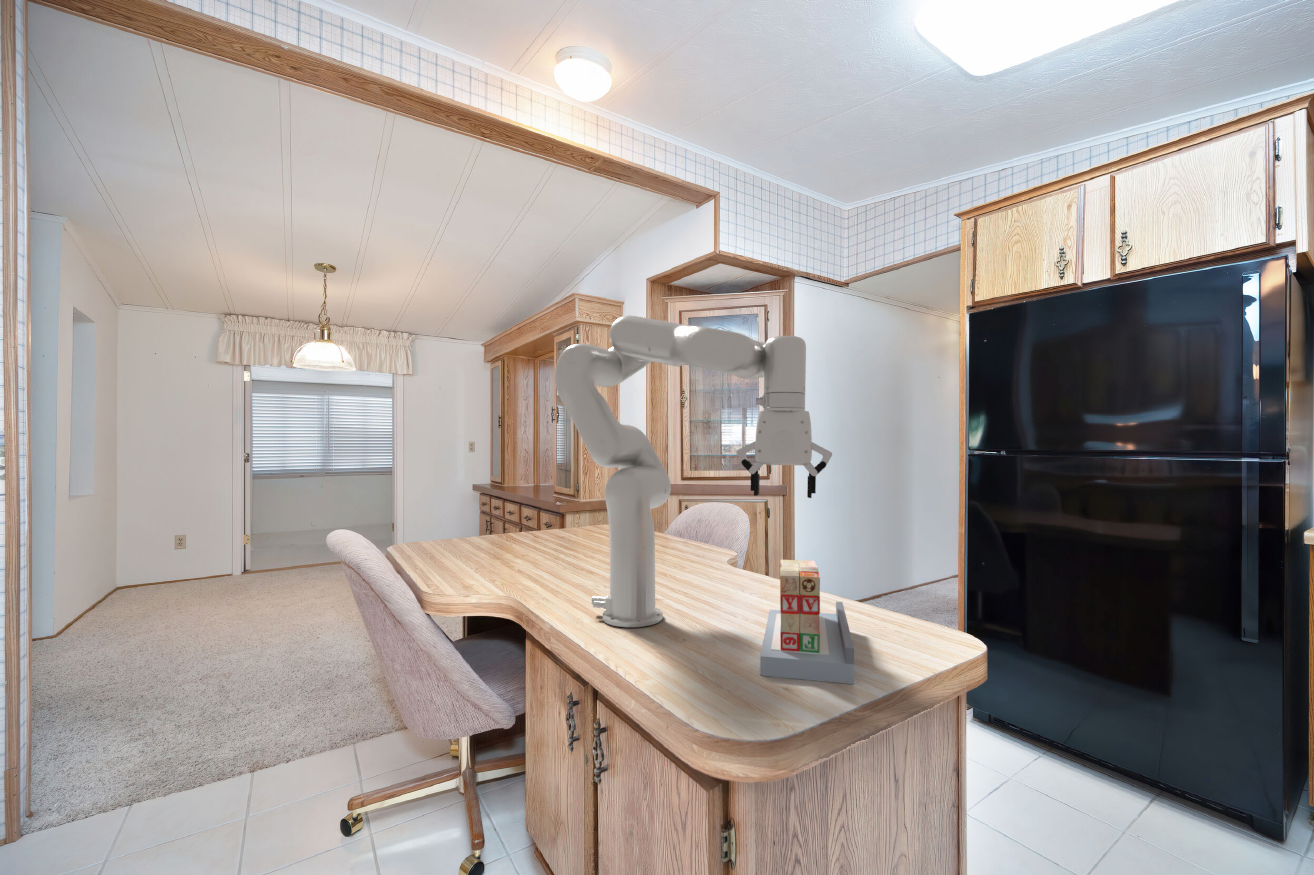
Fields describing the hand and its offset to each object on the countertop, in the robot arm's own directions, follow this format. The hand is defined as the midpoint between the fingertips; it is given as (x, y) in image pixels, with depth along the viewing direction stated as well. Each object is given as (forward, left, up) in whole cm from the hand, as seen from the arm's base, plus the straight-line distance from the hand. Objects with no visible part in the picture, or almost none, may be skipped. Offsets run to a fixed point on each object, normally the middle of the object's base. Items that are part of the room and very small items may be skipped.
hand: (782, 496), depth 105 cm
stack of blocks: (+3, -3, -24) cm, 24 cm away
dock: (+4, -4, -27) cm, 27 cm away
